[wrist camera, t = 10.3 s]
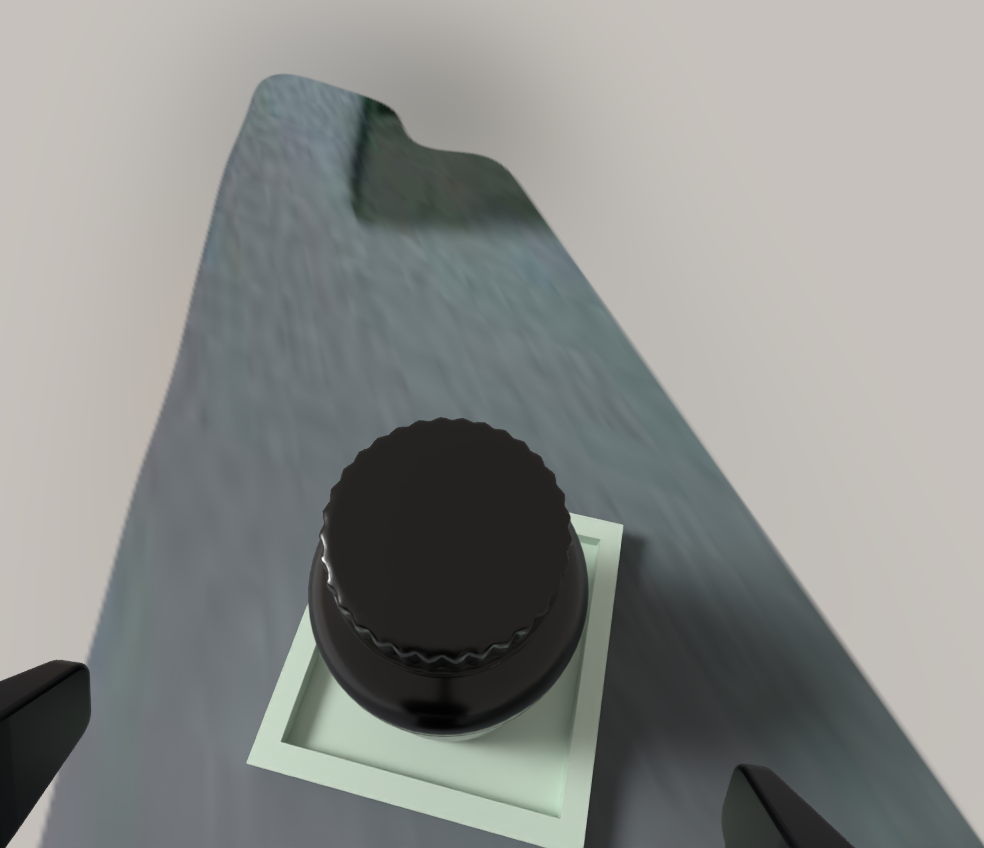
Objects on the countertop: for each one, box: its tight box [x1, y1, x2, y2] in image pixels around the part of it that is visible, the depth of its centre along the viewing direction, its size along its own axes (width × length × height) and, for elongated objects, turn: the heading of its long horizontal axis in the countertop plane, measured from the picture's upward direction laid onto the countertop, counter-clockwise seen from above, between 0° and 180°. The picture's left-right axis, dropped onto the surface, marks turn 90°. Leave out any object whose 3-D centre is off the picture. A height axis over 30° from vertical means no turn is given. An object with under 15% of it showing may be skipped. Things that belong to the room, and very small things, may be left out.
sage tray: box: [247, 513, 623, 848], centre depth 21 cm, size 11×11×1 cm
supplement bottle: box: [308, 417, 589, 742], centre depth 16 cm, size 7×7×12 cm
